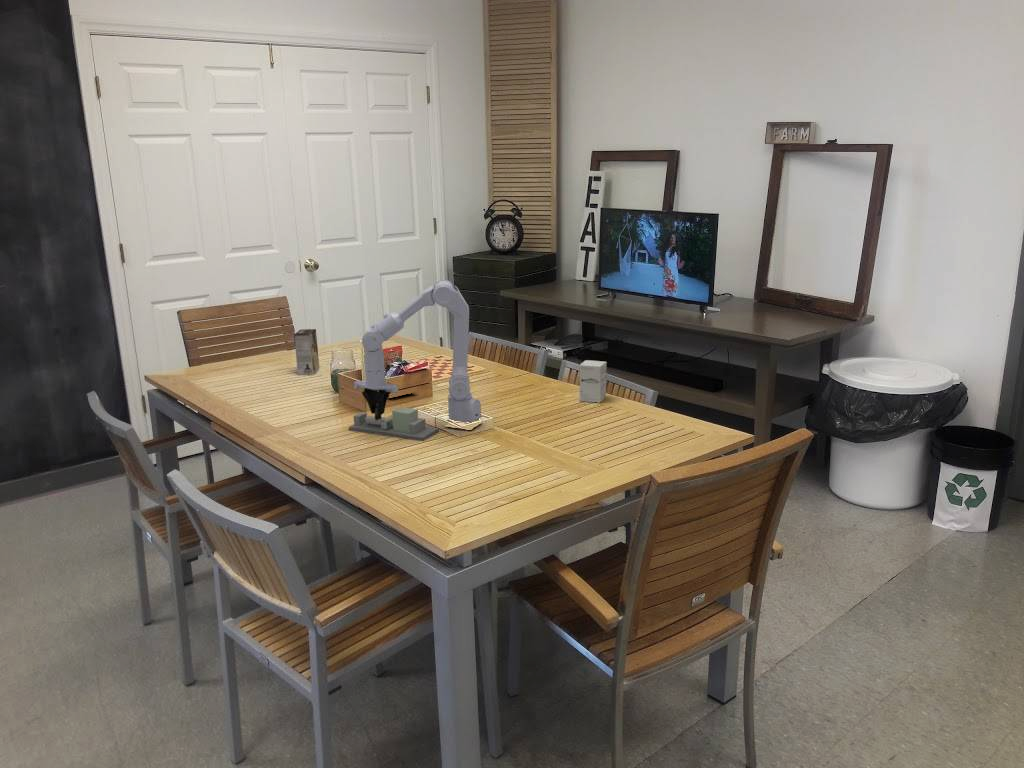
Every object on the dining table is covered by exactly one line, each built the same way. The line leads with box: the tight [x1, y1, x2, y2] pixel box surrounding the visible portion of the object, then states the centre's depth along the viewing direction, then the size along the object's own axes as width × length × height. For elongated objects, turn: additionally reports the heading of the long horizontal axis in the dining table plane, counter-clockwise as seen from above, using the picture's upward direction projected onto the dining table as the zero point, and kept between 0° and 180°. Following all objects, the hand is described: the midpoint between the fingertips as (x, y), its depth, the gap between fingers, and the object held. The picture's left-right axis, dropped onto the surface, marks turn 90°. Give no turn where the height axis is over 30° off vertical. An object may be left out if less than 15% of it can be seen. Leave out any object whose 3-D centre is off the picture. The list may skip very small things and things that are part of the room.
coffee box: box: [293, 328, 320, 376], centre depth 312 cm, size 9×6×16 cm
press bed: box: [348, 411, 439, 442], centre depth 244 cm, size 26×9×4 cm, turn 65°
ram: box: [366, 406, 393, 430], centre depth 246 cm, size 9×6×6 cm, turn 65°
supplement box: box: [578, 359, 608, 404], centre depth 270 cm, size 7×7×13 cm
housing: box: [391, 406, 419, 433], centre depth 242 cm, size 6×4×6 cm
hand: (377, 413), depth 246 cm, fingers closed on ram, 2 cm apart
